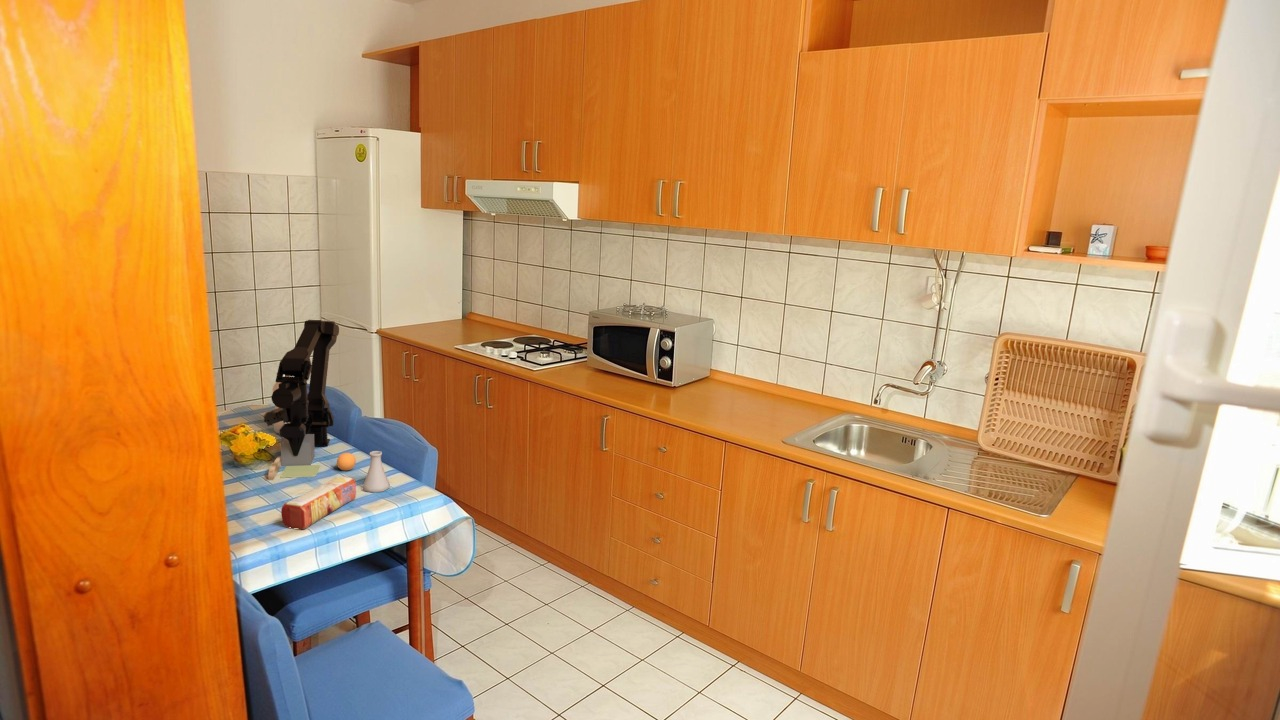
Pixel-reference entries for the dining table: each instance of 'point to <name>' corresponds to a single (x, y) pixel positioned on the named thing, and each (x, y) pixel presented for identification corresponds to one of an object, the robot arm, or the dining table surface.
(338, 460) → the ball
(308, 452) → the smooth grey cube
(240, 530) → the dining table surface
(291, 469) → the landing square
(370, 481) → the flask
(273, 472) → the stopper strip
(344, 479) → the snack package
